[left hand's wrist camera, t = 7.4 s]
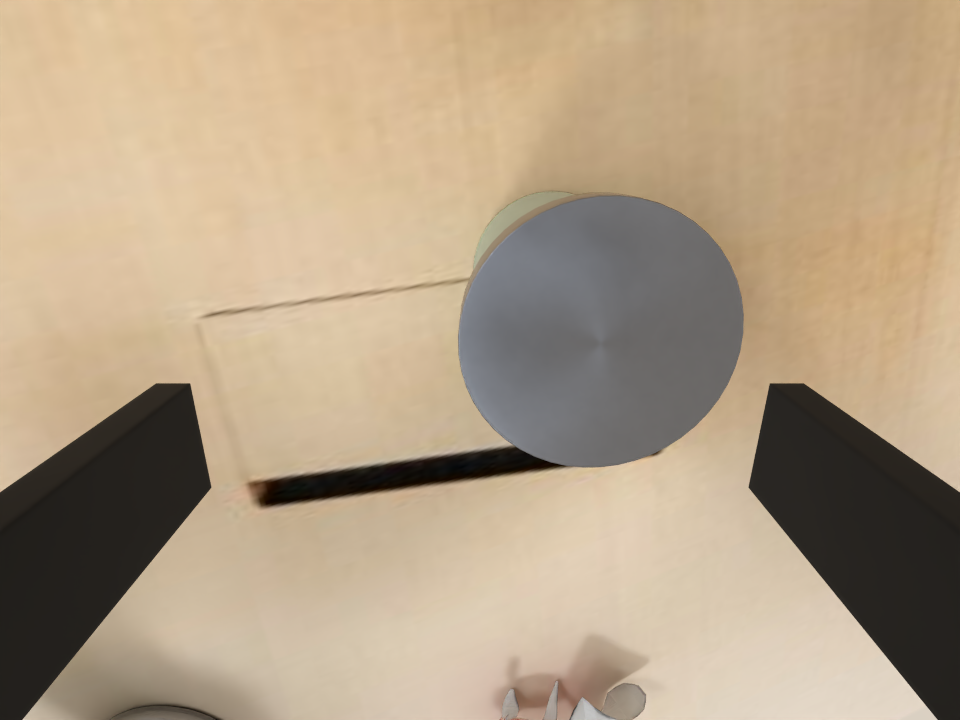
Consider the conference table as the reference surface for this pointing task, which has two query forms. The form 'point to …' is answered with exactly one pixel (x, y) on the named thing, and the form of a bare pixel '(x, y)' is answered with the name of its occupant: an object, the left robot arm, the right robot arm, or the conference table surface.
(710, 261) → the lid
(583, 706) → the fish
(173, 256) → the conference table surface
